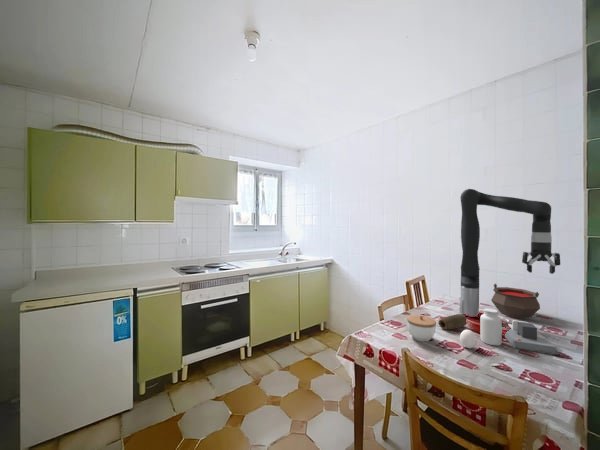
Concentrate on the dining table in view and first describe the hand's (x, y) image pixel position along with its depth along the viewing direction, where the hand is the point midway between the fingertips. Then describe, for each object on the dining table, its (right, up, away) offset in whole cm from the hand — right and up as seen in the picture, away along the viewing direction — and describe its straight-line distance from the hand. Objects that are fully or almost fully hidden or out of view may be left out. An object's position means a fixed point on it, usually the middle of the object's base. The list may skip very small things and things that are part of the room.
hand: (540, 272), depth 128 cm
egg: (-48, -31, -16) cm, 59 cm away
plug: (-18, -30, -12) cm, 37 cm away
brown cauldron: (+8, -30, +24) cm, 39 cm away
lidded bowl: (-64, -31, -7) cm, 72 cm away
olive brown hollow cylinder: (-42, -30, +5) cm, 52 cm away
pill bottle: (-34, -31, -11) cm, 47 cm away
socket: (-18, -30, -12) cm, 37 cm away
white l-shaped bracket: (-14, -27, -3) cm, 31 cm away
